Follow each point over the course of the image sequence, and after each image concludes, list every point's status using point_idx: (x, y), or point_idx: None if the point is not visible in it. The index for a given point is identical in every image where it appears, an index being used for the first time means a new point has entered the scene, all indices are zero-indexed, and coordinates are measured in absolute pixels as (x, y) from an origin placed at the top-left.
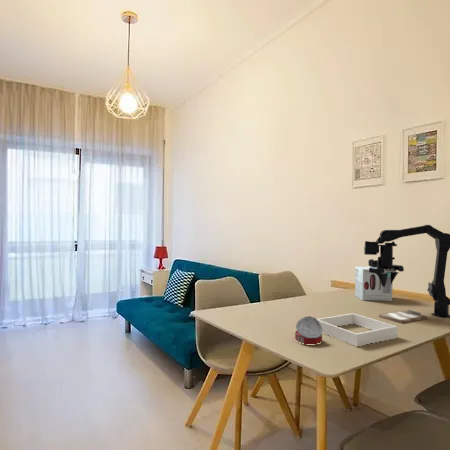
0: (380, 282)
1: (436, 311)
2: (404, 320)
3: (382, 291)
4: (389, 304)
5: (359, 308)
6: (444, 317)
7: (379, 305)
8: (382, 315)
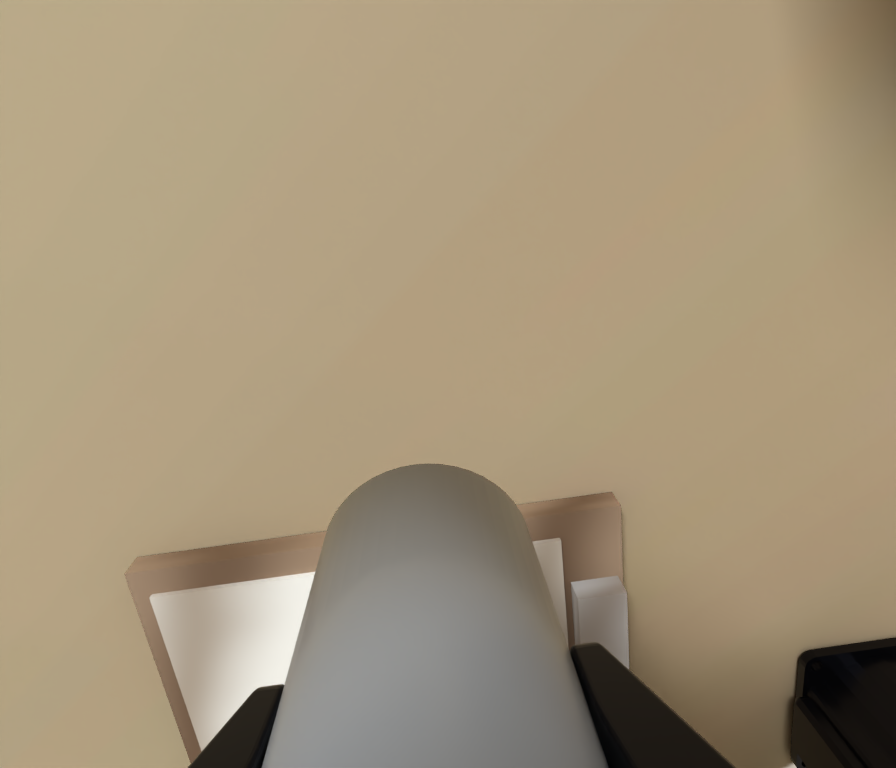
0: None
1: (816, 754)
2: None
3: (322, 550)
4: (866, 31)
5: (144, 80)
6: (795, 763)
7: (645, 26)
8: (150, 610)
